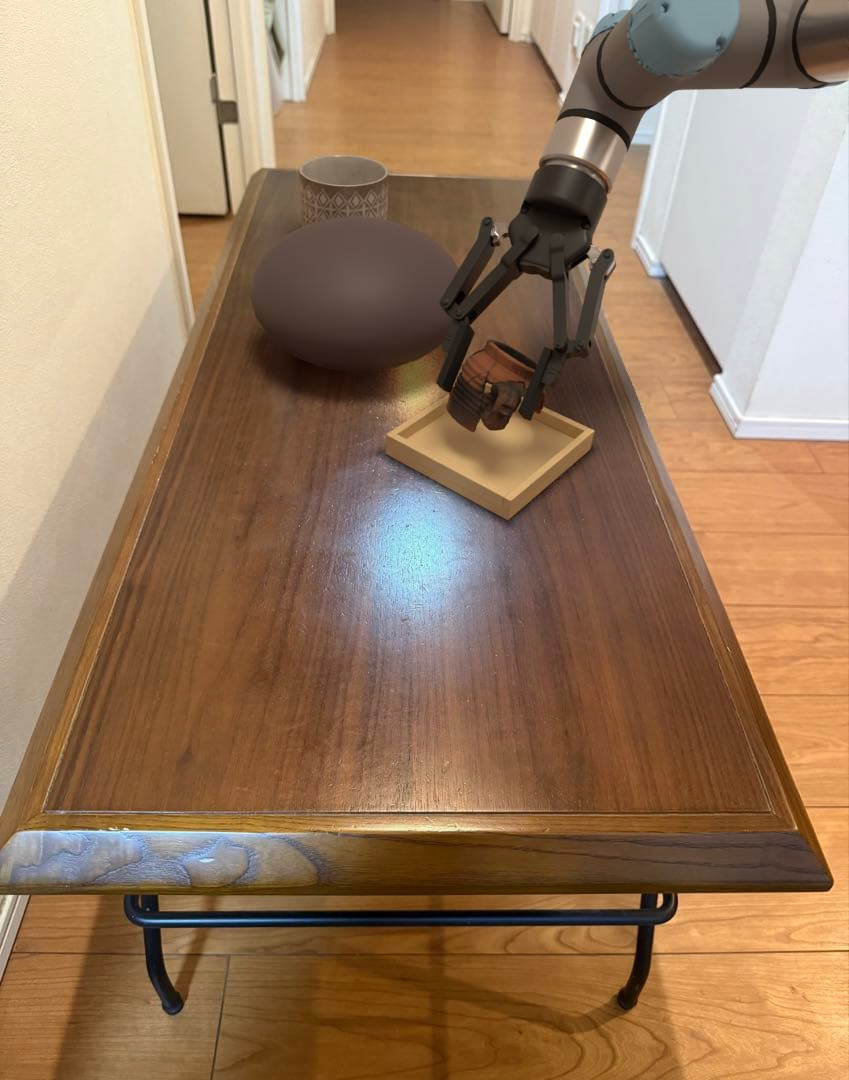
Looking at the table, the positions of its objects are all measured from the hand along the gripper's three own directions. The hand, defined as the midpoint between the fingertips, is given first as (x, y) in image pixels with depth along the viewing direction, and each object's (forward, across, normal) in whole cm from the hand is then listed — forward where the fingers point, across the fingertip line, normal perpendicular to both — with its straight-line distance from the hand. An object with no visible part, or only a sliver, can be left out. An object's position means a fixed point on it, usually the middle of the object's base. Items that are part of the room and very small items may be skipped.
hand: (483, 401), depth 80 cm
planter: (-22, +41, -34) cm, 57 cm away
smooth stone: (-4, +23, -15) cm, 28 cm away
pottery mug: (0, 0, -5) cm, 5 cm away
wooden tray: (+3, 0, -8) cm, 9 cm away
